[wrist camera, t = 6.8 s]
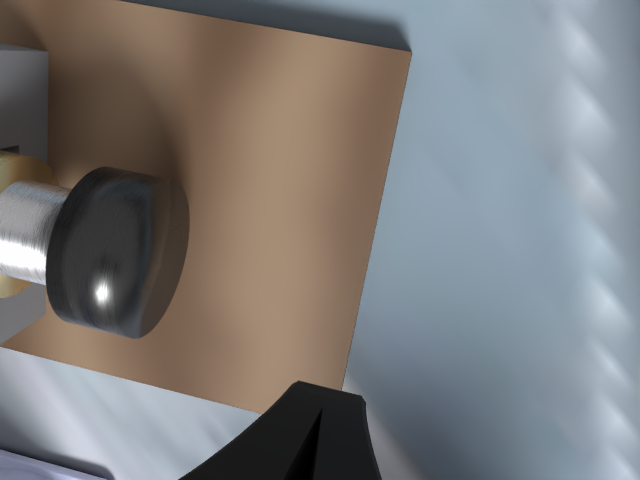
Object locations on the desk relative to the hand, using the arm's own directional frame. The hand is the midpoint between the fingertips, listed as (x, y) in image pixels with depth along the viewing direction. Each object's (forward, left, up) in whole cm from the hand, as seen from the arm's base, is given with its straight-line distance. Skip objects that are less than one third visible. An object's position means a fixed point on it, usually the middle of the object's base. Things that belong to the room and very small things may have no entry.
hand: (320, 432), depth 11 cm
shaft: (0, +15, -8) cm, 17 cm away
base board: (0, +13, -10) cm, 17 cm away
